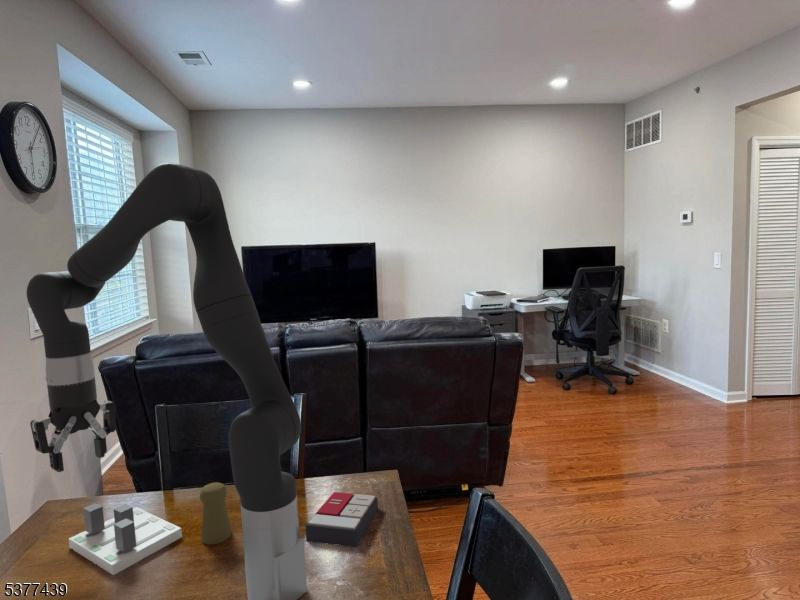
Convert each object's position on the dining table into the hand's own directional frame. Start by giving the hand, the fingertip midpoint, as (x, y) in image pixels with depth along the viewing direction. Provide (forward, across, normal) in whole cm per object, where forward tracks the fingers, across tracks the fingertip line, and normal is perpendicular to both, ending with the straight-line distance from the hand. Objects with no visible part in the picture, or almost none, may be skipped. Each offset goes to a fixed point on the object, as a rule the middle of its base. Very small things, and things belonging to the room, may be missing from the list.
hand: (80, 463), depth 95 cm
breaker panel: (+20, +7, 0) cm, 21 cm away
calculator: (+20, +35, -35) cm, 53 cm away
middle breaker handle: (+17, +7, 0) cm, 19 cm away
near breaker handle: (+17, +4, -6) cm, 19 cm away
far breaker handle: (+17, +4, +6) cm, 19 cm away
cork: (+20, +18, -14) cm, 30 cm away
